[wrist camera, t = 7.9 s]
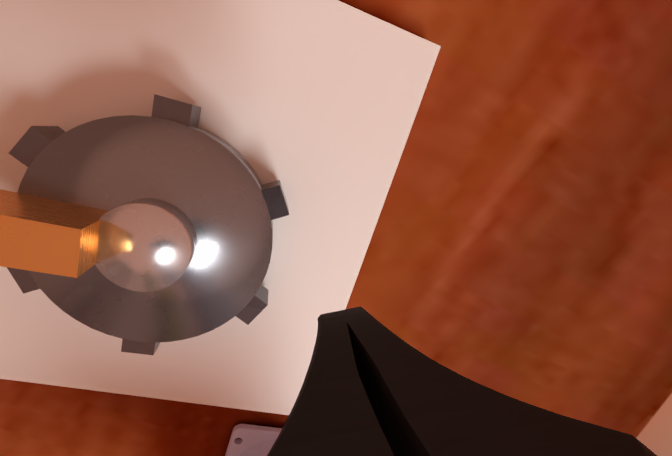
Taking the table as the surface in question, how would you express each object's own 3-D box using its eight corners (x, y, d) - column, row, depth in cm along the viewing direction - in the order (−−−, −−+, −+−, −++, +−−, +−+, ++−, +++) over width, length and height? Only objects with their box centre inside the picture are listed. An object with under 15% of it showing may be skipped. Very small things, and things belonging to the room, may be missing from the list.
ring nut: (304, 136, 16) (314, 138, 12) (255, 344, 19) (248, 408, 14) (-150, 9, 12) (-383, -55, 8) (-130, 295, 15) (-295, 363, 11)
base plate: (304, 402, 22) (306, 418, 21) (-122, 343, 17) (-152, 360, 15) (430, 51, 17) (441, 46, 16) (-115, -188, 12) (-160, -224, 11)
